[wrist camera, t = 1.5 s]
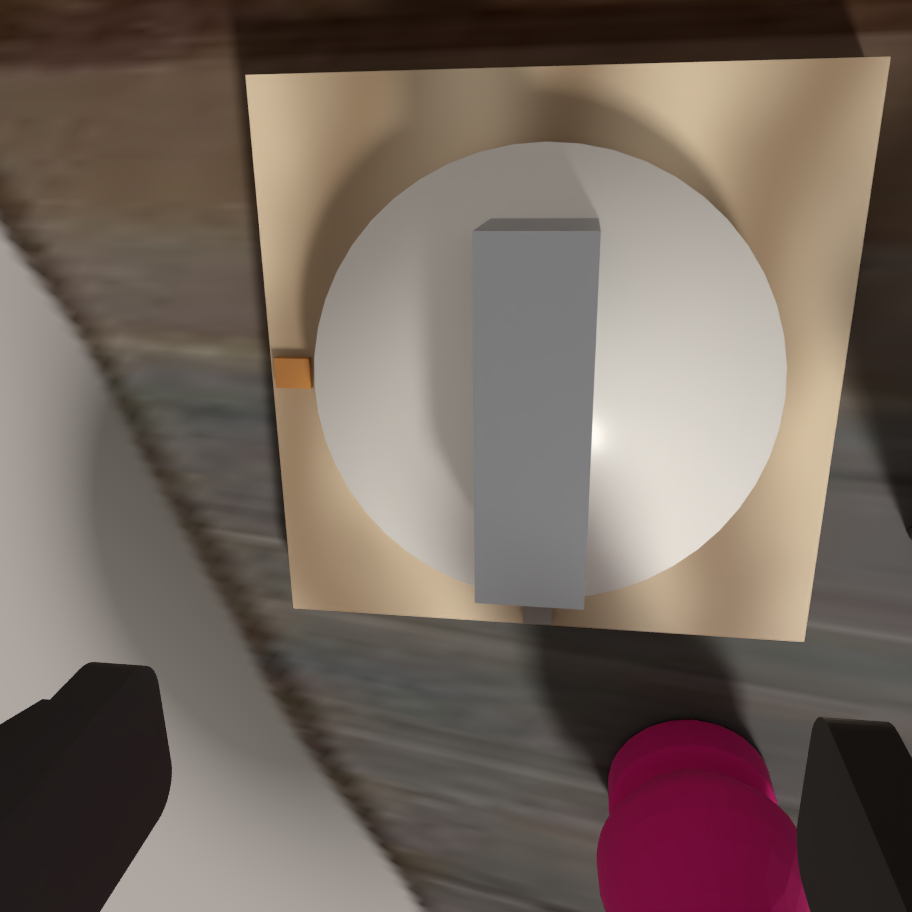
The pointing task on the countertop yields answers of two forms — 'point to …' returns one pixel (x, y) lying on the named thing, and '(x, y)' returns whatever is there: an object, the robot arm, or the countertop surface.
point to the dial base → (638, 135)
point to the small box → (910, 532)
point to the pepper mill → (695, 827)
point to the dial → (550, 371)
